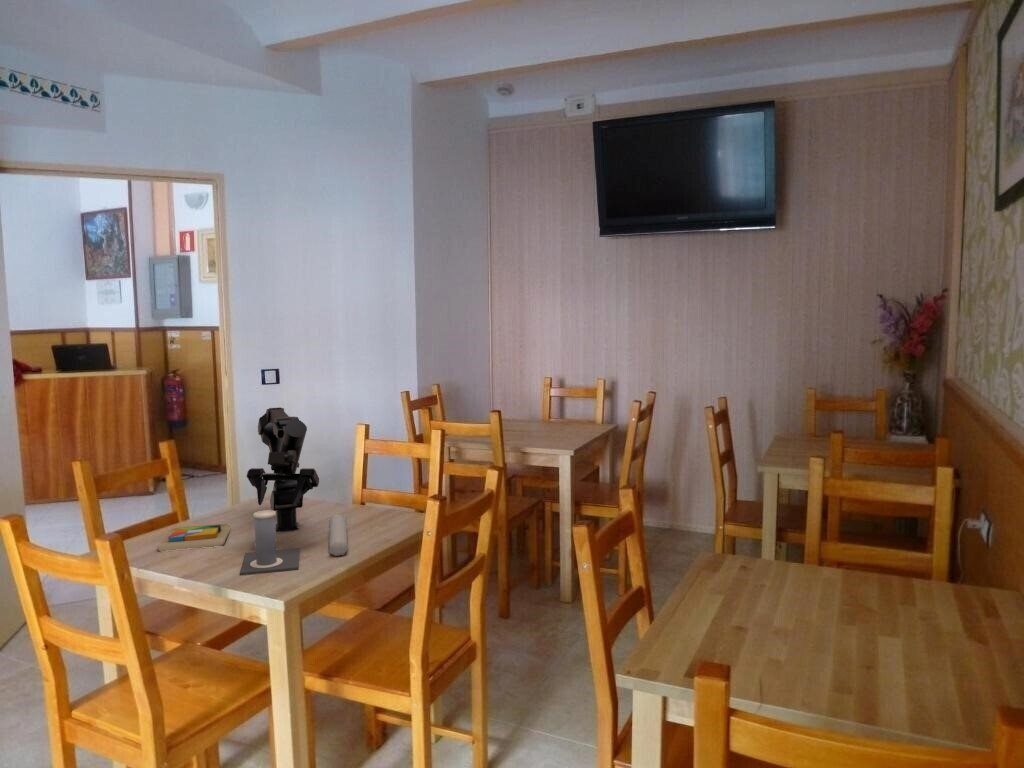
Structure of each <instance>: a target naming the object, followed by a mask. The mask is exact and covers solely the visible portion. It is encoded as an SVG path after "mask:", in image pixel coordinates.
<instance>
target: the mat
mask: <svg viewBox="0 0 1024 768" xmlns="http://www.w3.org/2000/svg"><path fill="white" fill-rule="evenodd" d="M276 553H277V562H276V563H274V564H271V565H265V566H262V565H257V564H256V551H251V552H245V553H244V557H243V560H242V562H241V567H240V571H239V576H244V575H245V576H247V575H246V574H248V575H257V574H256V573H258V574H266V573H276V572H277V573H279V572H286V571H287V572H288V571H296V570H297V571H298V570H299V567H300V566H299V565H300V563H299V562H300V547H295V548H288V549H287V548H285V549H283V548H282V549H276Z"/></svg>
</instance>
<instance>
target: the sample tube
mask: <svg viewBox="0 0 1024 768" xmlns="http://www.w3.org/2000/svg"><path fill="white" fill-rule="evenodd" d="M252 516H253V518H254V537H255V539H254V540H255V552H256V564H257V565H262V566H265V565H271V564H274V563H276V562H277V553H276V550H277V535H276V534H277V531H276V529H275V528H276V516H277V512H276V511H273V510H272V509H266V510H265V509H263V510H258V511H255V512H254V513H253V515H252Z"/></svg>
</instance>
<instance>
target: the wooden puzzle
mask: <svg viewBox="0 0 1024 768" xmlns="http://www.w3.org/2000/svg"><path fill="white" fill-rule="evenodd" d="M231 530H232V527H231V525H230V524H229V523H227V522H226V523H212V524H201V525H198V524H197V525H188V526H178V527H173V528H171V529H169V531H168V533H167V535H165V537H164V538H163V539H162V540H161V541H160V543H158V545H157V550H158V552H159V551H166V550H176V549H187V548H202V547H213V548H215V547H214V546H222V547H224V545H225V543H226V540H227V539H228V536H229V534H230V533H231ZM202 549H203V548H202Z"/></svg>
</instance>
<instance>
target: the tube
mask: <svg viewBox="0 0 1024 768" xmlns="http://www.w3.org/2000/svg"><path fill="white" fill-rule="evenodd" d="M347 526H348V525H347V517H345V516H343V515H342V514H333V515H332V516H331V517H330V519H329V520H328V529H329V545H328V546H329V554H331V555H333V556H334V557H341V556H340V555H342V556H344V555H345V554H346V553H347V551H348V540H347V539H348V537H347Z"/></svg>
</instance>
